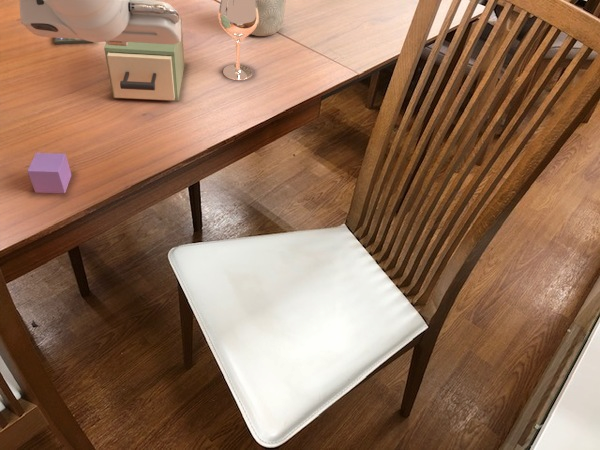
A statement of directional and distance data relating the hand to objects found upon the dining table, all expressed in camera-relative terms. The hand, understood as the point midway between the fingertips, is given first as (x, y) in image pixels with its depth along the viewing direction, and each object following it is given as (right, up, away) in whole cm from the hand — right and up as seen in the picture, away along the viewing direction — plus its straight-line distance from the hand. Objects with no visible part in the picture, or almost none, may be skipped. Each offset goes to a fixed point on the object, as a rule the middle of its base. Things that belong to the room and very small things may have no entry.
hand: (118, 40), depth 77 cm
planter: (+18, +21, +50) cm, 57 cm away
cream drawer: (-3, 0, +25) cm, 25 cm away
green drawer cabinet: (-3, +2, +29) cm, 29 cm away
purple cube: (-12, -22, +4) cm, 25 cm away
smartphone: (-25, +17, +41) cm, 51 cm away
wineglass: (+14, +5, +34) cm, 37 cm away
